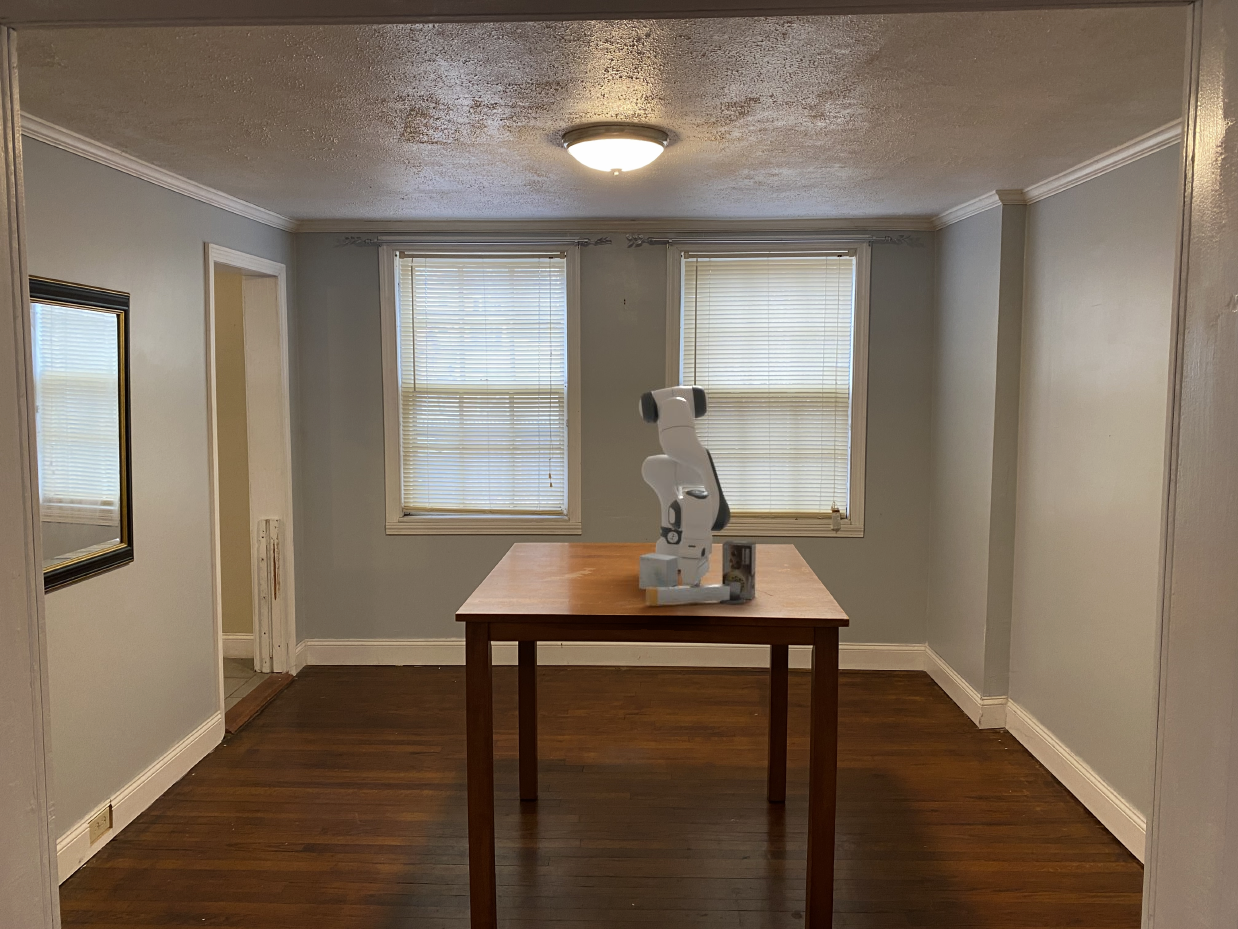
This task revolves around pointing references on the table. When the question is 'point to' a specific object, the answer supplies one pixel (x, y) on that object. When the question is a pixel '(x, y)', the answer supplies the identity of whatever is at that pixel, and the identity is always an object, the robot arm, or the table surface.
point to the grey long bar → (694, 593)
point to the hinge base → (733, 601)
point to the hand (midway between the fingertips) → (695, 594)
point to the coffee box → (740, 565)
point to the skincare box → (658, 571)
